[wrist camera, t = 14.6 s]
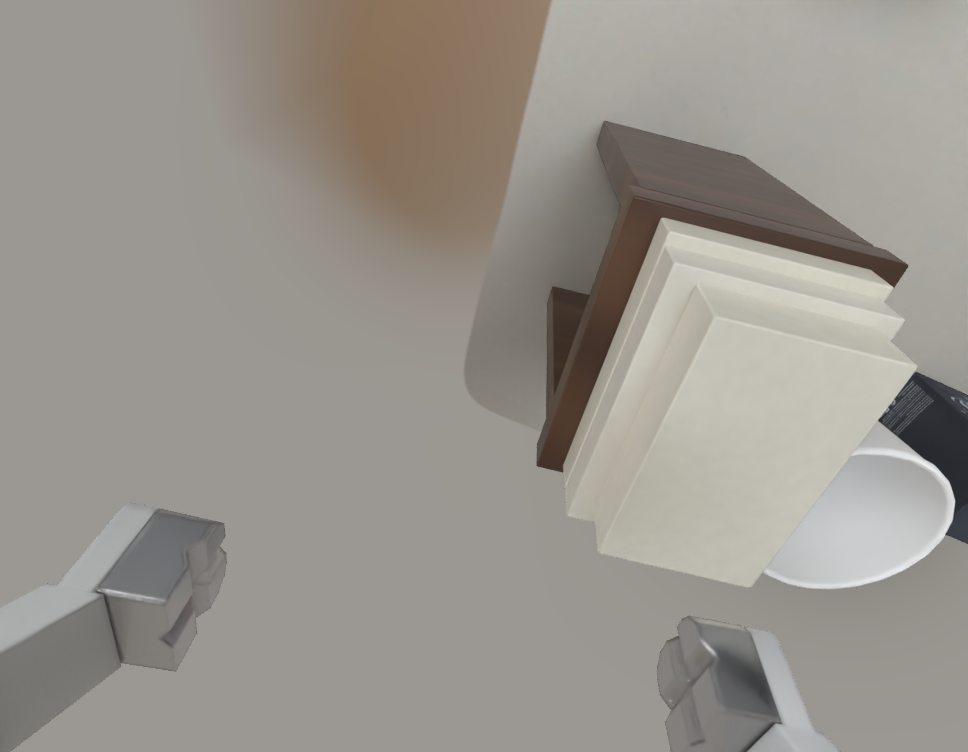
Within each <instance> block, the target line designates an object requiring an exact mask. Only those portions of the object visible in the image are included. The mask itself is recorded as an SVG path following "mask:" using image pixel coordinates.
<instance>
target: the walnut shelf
mask: <svg viewBox="0 0 968 752" xmlns="http://www.w3.org/2000/svg"><path fill="white" fill-rule="evenodd" d="M597 147H598V150H599V152H600V155H601V157H602V160H603V163H604V165H605V168H606V170H607V173H608V176H609V178H610V181H611V184H612V186H613V189H614V191H615V194H616V197H617V199H618V202H619V204H620V207H621V208H620V211H619V213H618V216H617V219H616V222H615V225H614V228H613V230H612V233H611V236H610V239H609V242H608V245H607V247H606V250H605V253H604V256H603V259H602V262H601V264H600V267H599V270H598V273H597V276H596V279H595V282H594V284H593V287H592V290H591V293H590V296H589V295H585V294H581V293H577V292H573V291H569V290H565V289H561V288H557V287H552V290H551V293H550V296H549V299H548V303H547V387H546V421H545V423H544V426H543V429H542V432H541V435H540V438H539V441H538V443H537V466H538V467H543V468H546V469H551V470H555V471H559V472H563V464H564V462H565V459H566V457H567V454H568V452H569V449H570V447H571V444H572V442H573V439H574V437H575V434H576V431H577V429H578V426H579V424H580V421H581V419H582V416H583V414H584V411H585V409H586V406H587V404H588V401H589V399H590V396H591V394H592V391H593V388H594V386H595V383H596V381H597V378H598V376H599V373H600V371H601V368H602V366H603V363H604V361H605V358H606V356H607V353H608V351H609V348H610V346H611V343H612V340H613V338H614V335H615V333H616V330H617V328H618V325H619V323H620V320H621V318H622V315H623V313H624V310H625V308H626V305H627V303H628V300H629V297H630V295H631V292H632V290H633V287H634V285H635V282H636V280H637V277H638V275H639V272H640V270H641V267H642V265H643V262H644V260H645V257H646V255H647V252H648V249H649V247H650V244H651V242H652V239H653V237H654V234H655V232H656V229H657V227H658V224H659V222H660V219H661V218H667V219H671V220H675V221H679V222H683V223H687V224H691V225H695V226H699V227H703V228H707V229H711V230H715V231H719V232H723V233H727V234H731V235H735V236H739V237H743V238H747V239H751V240H754V241H758V242H762V243H766V244H770V245H774V246H778V247H782V248H786V249H790V250H794V251H798V252H802V253H806V254H810V255H814V256H818V257H822V258H826V259H830V260H834V261H838V262H842V263H845V264H849V265H853V266H857V267H861V268H865V269H869V270H872V271H873V272H874V273H875V274H877V275H878V276H879V277H881V278H882V279H883V280H884V281H886V282H887V283H888V284H890V285H891V286H892V287H893V288H894V287H895V286H896V284H897V283H898V281H899V280H900V278H901V277H902V275H903V274H904V272H905V271H906V269H907V268H908V265H907V264H906V263H905V262H903V261H902V260H900V259H899V258H897V257H896V256H894V255H893V254H891V253H890V252H889V251H887V250H885V249H881V248H877V247H874V246H873V245H871V244H870V243H868V242H867V241H866V240H864V239H863V238H861V237H860V236H858V235H857V234H855V233H854V232H853V231H851V230H850V229H848V228H847V227H845V226H844V225H842V224H841V223H840V222H838V221H837V220H835V219H834V218H832V217H831V216H829V215H828V214H827V213H825V212H824V211H822V210H821V209H819V208H818V207H816V206H815V205H814V204H812V203H811V202H809V201H808V200H806V199H805V198H803V197H802V196H801V195H799V194H798V193H796V192H795V191H793V190H792V189H790V188H789V187H788V186H786V185H785V184H783V183H782V182H780V181H779V180H777V179H776V178H775V177H773V176H772V175H770V174H769V173H767V172H766V171H764V170H763V169H762V168H760V167H759V166H757V165H756V164H754V163H753V162H751V161H750V160H749V159H747V158H746V157H743V156H739V155H735V154H731V153H728V152H724V151H720V150H716V149H712V148H708V147H704V146H700V145H697V144H693V143H689V142H685V141H681V140H677V139H673V138H669V137H666V136H662V135H658V134H654V133H650V132H646V131H642V130H638V129H634V128H631V127H627V126H623V125H619V124H615V123H611V122H607V121H604V122H603V125H602V129H601V132H600V135H599V138H598V142H597Z"/></svg>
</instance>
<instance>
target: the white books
mask: <svg viewBox="0 0 968 752" xmlns="http://www.w3.org/2000/svg"><path fill="white" fill-rule="evenodd" d="M697 284H701V285H705V286H709V287H713V288H717V289H721V290H725V291H729V292H733V293H737V294H741V295H745V296H749V297H753V298H757V299H761V300H765V301H769V302H773V303H777V304H781V305H785V306H789V307H793V308H797V309H801V310H805V311H809V312H813V313H817V314H821V315H825V316H829V317H833V318H837V319H841V320H845V321H849V322H853V323H857V324H861V325H865V326H869V327H873V328H877V329H878V330H879V331H881V332H882V333H883V334H884V335H885V336H886V337H887V338H888V339H889V340H890V341H892V340H893V338H894V337H895V336H896V334H897V333H898V331H899V330H900V329H901V327H902V326H903V324H904V323H905V320H904V319H903V318H902V317H901V316H900V315H898V314H897V313H896V312H895V311H894V310H893V309H891V308H890V307H889V306H888V305H887V304H885V301H886V300H887V298H888V297H889V295H890V294H891V292H892V291H893V289H894V288H893V287H892V286H891V285H890V284H888V283H887V282H886V281H884V280H883V279H882V278H881V277H879V276H878V275H877V274H875V273H874V272H873V271H872V270H869V269H865V268H861V267H857V266H853V265H849V264H845V263H842V262H838V261H834V260H830V259H826V258H822V257H818V256H814V255H810V254H806V253H802V252H798V251H794V250H790V249H786V248H782V247H778V246H774V245H770V244H766V243H762V242H758V241H754V240H751V239H747V238H743V237H739V236H735V235H731V234H727V233H723V232H719V231H715V230H711V229H707V228H703V227H699V226H695V225H691V224H687V223H683V222H679V221H675V220H671V219H667V218H661V219H660V222H659V224H658V227H657V229H656V232H655V234H654V237H653V239H652V242H651V244H650V247H649V249H648V252H647V255H646V257H645V260H644V262H643V265H642V267H641V270H640V272H639V275H638V277H637V280H636V282H635V285H634V287H633V290H632V292H631V295H630V297H629V300H628V303H627V305H626V308H625V310H624V313H623V315H622V318H621V320H620V323H619V325H618V328H617V330H616V333H615V335H614V338H613V340H612V343H611V346H610V348H609V351H608V353H607V356H606V358H605V361H604V363H603V366H602V368H601V371H600V373H599V376H598V378H597V381H596V383H595V386H594V388H593V391H592V394H591V396H590V399H589V401H588V404H587V406H586V409H585V411H584V414H583V416H582V419H581V421H580V424H579V426H578V429H577V431H576V434H575V437H574V439H573V442H572V444H571V447H570V449H569V452H568V454H567V457H566V459H565V462H564V464H563V473H564V474H563V475H564V489H565V490H566V515H567V516H568V517H573V518H577V519H581V520H586V521H590V522H595V516H594V506H595V504H596V502H597V499H598V497H599V495H600V493H601V491H602V489H603V486H604V484H605V482H606V480H607V478H608V476H609V473H610V471H611V469H612V467H613V465H614V462H615V460H616V458H617V456H618V454H619V452H620V449H621V447H622V445H623V443H624V441H625V439H626V436H627V434H628V432H629V430H630V428H631V426H632V423H633V421H634V419H635V417H636V415H637V413H638V410H639V408H640V406H641V404H642V402H643V400H644V397H645V395H646V393H647V391H648V389H649V386H650V384H651V382H652V380H653V378H654V376H655V373H656V371H657V369H658V367H659V365H660V363H661V360H662V358H663V356H664V354H665V352H666V350H667V347H668V345H669V343H670V341H671V339H672V337H673V334H674V332H675V330H676V328H677V326H678V323H679V321H680V319H681V317H682V315H683V313H684V310H685V308H686V306H687V304H688V302H689V300H690V297H691V295H692V293H693V291H694V289H695V287H696V285H697Z"/></svg>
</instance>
